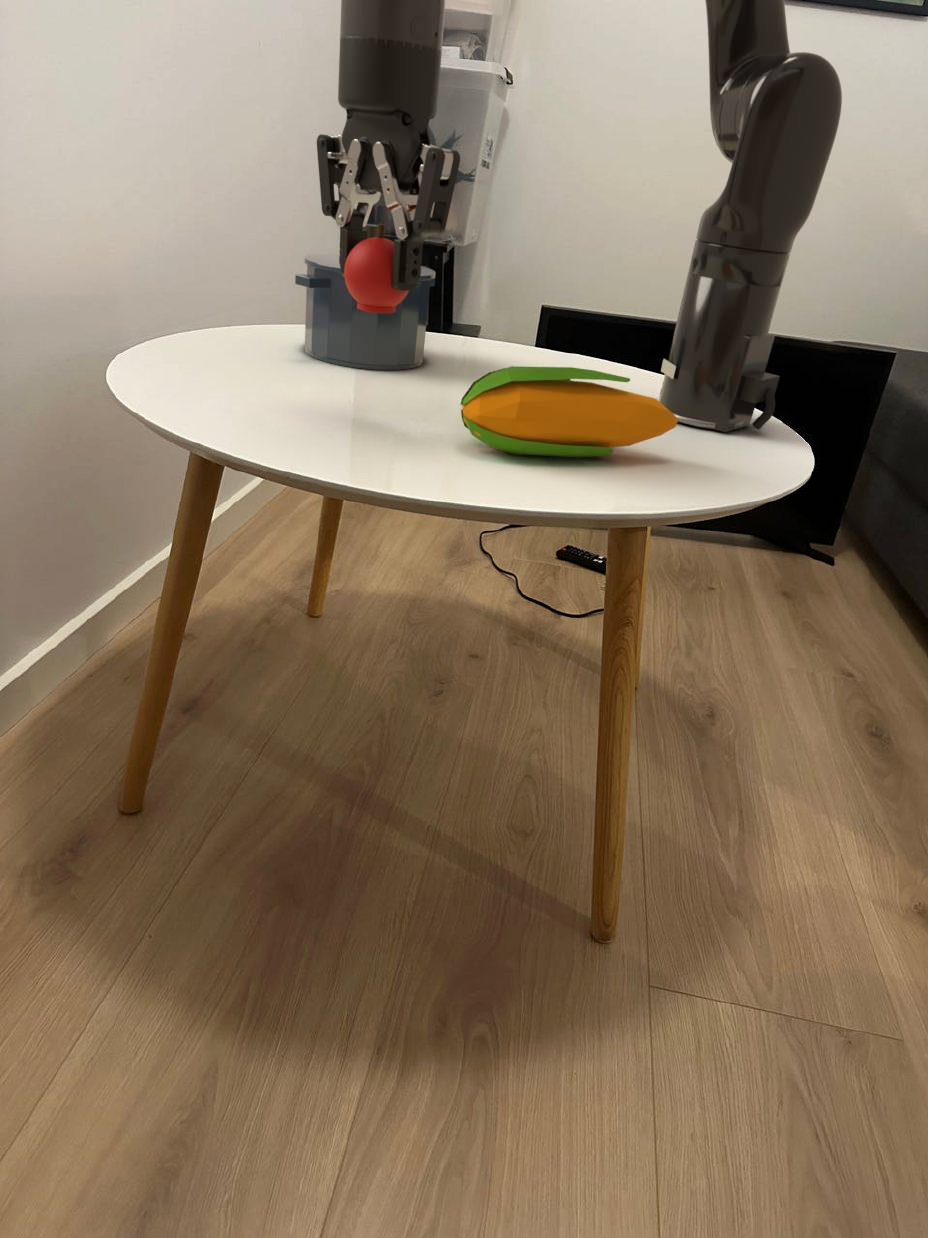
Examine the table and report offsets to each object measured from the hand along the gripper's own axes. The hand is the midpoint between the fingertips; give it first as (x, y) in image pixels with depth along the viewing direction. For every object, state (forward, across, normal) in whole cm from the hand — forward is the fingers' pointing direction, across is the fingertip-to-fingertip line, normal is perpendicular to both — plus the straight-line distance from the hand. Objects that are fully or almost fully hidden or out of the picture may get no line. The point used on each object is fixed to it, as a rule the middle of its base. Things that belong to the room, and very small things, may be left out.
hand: (377, 282), depth 71 cm
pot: (+12, +20, -18) cm, 30 cm away
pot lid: (+2, +20, -18) cm, 27 cm away
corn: (+12, -15, -10) cm, 21 cm away
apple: (+2, 0, 0) cm, 2 cm away
